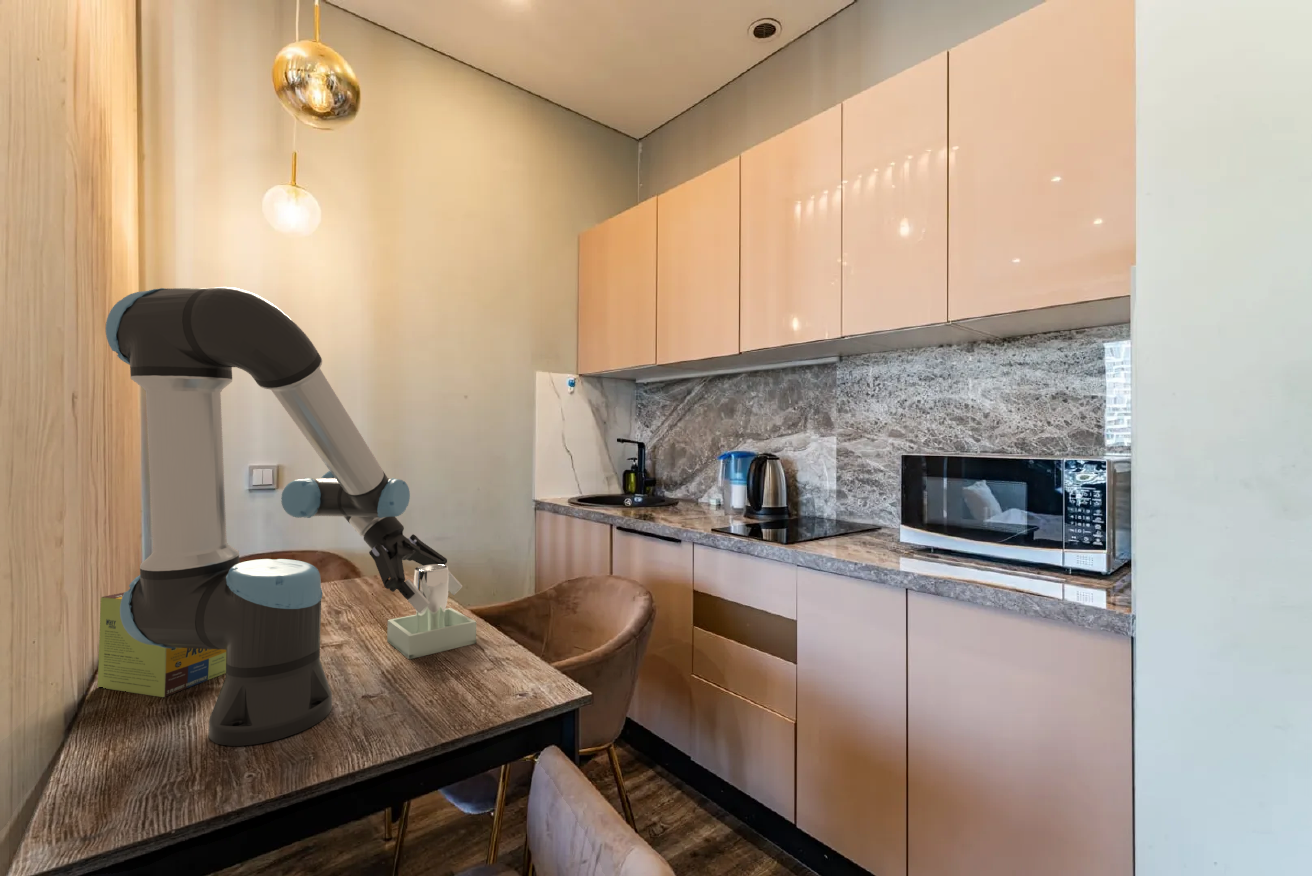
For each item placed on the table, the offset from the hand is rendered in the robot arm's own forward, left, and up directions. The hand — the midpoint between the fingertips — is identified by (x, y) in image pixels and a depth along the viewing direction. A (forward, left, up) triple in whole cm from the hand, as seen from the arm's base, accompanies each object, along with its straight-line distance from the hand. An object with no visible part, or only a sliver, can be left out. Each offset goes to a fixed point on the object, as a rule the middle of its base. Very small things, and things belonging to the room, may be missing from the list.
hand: (442, 599), depth 115 cm
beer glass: (+2, +2, -9) cm, 9 cm away
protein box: (+14, +43, -9) cm, 47 cm away
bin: (+2, +1, -9) cm, 9 cm away
